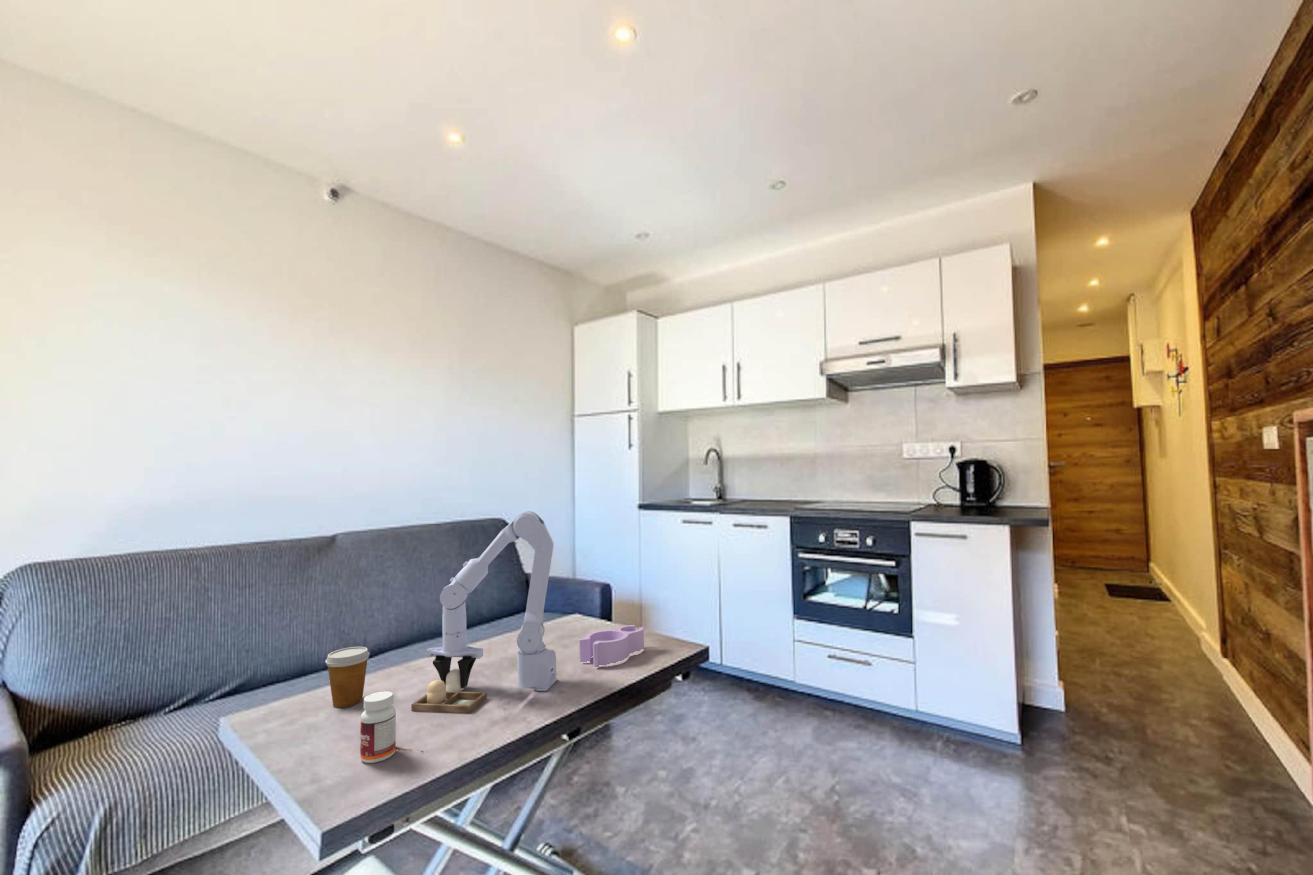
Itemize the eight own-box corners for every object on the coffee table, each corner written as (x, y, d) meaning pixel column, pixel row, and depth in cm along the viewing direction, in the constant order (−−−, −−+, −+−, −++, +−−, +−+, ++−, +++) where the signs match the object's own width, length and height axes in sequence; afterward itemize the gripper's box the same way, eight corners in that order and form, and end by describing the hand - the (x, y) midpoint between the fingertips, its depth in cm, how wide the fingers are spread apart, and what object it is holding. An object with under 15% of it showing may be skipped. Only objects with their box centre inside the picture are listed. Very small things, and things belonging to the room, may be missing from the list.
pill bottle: (355, 757, 105) (355, 697, 106) (387, 744, 110) (387, 687, 111) (368, 767, 101) (368, 705, 102) (401, 754, 106) (401, 694, 107)
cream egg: (467, 689, 138) (467, 666, 139) (458, 696, 134) (458, 672, 134) (452, 688, 139) (451, 666, 139) (442, 695, 135) (442, 672, 135)
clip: (626, 645, 170) (625, 622, 170) (653, 653, 161) (652, 629, 162) (573, 662, 156) (573, 637, 156) (600, 672, 147) (600, 646, 148)
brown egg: (449, 700, 129) (449, 677, 130) (439, 708, 125) (439, 683, 126) (433, 700, 130) (433, 676, 130) (423, 707, 126) (423, 683, 126)
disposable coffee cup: (378, 697, 135) (378, 648, 136) (342, 713, 127) (342, 660, 127) (352, 692, 139) (352, 644, 140) (316, 707, 131) (316, 656, 131)
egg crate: (487, 701, 130) (486, 692, 130) (469, 716, 122) (469, 706, 122) (431, 699, 132) (431, 690, 132) (411, 714, 124) (411, 704, 124)
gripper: (488, 627, 140) (489, 681, 139) (437, 626, 143) (438, 679, 142) (474, 635, 133) (475, 692, 132) (421, 634, 136) (421, 690, 135)
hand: (455, 686), depth 137 cm, fingers closed on cream egg, 4 cm apart
